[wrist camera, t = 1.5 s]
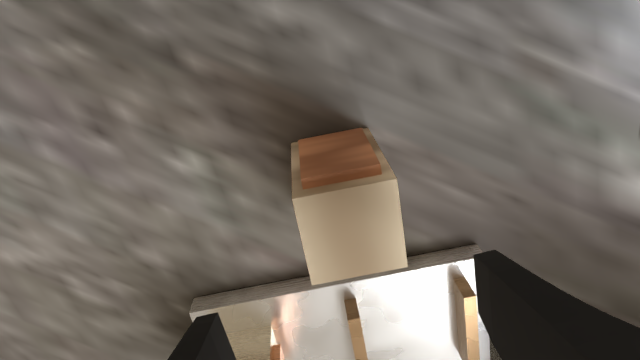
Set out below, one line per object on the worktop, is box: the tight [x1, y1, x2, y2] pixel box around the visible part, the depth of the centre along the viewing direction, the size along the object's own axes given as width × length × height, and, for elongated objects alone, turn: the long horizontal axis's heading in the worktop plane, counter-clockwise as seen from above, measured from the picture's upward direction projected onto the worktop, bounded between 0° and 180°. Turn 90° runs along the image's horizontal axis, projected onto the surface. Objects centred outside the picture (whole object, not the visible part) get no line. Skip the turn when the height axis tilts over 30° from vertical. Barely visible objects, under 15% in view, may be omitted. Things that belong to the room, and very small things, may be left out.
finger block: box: [291, 128, 408, 285], centre depth 19 cm, size 4×4×6 cm
